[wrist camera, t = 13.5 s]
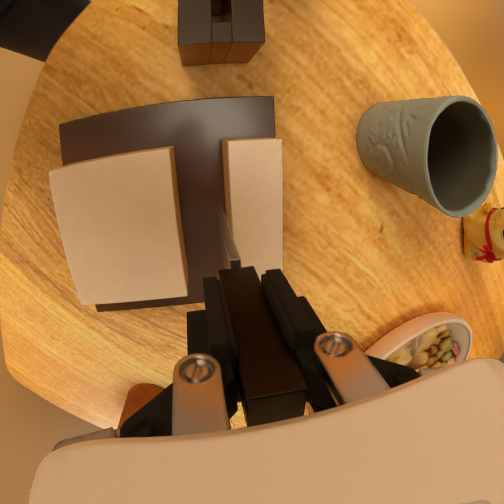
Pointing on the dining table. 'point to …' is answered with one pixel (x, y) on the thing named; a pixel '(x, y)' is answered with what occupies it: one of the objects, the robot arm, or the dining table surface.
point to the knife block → (219, 31)
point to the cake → (122, 226)
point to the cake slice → (255, 200)
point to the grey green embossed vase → (432, 150)
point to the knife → (258, 341)
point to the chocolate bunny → (484, 234)
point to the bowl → (426, 342)
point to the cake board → (178, 165)
